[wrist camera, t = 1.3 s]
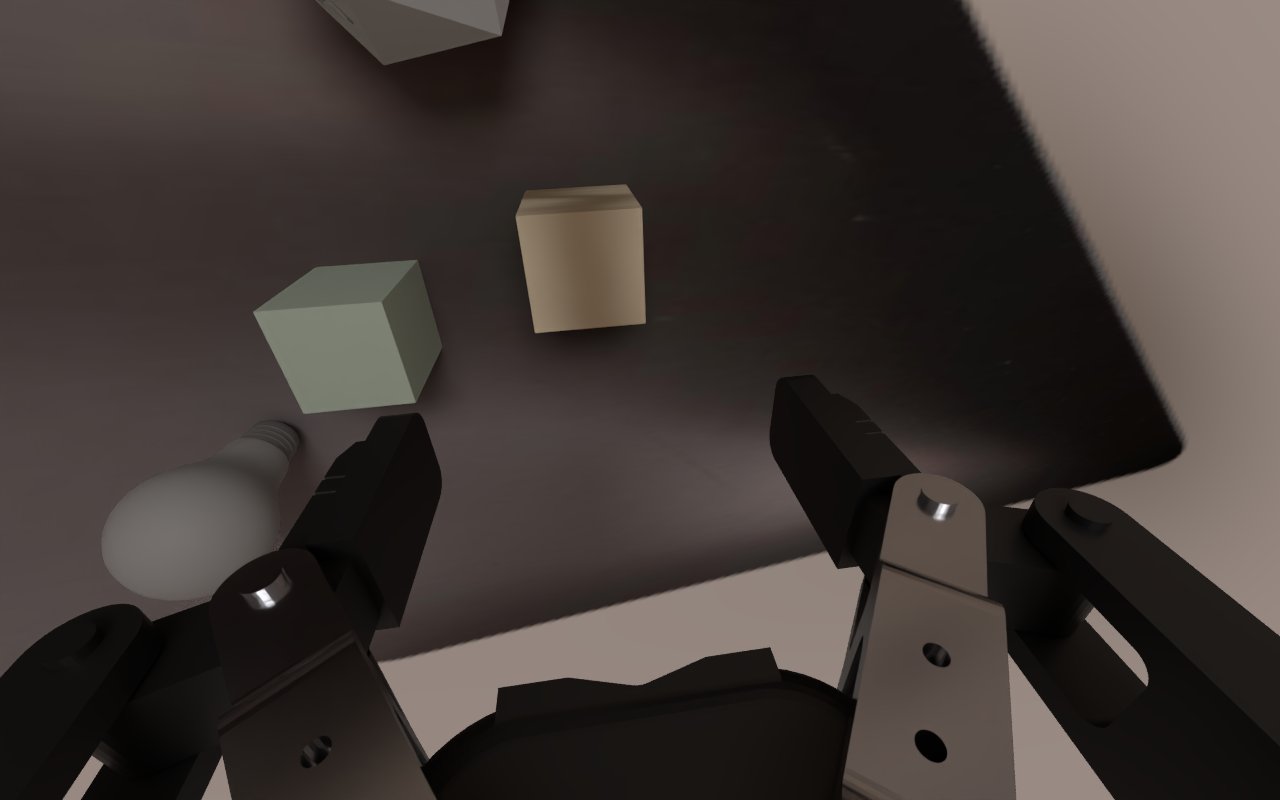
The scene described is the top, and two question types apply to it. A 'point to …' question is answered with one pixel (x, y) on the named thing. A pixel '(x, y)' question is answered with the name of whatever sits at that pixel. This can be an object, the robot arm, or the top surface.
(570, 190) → the maple block
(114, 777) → the robot arm
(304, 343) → the sage block
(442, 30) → the die
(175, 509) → the lightbulb
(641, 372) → the top surface
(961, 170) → the top surface
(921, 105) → the top surface
